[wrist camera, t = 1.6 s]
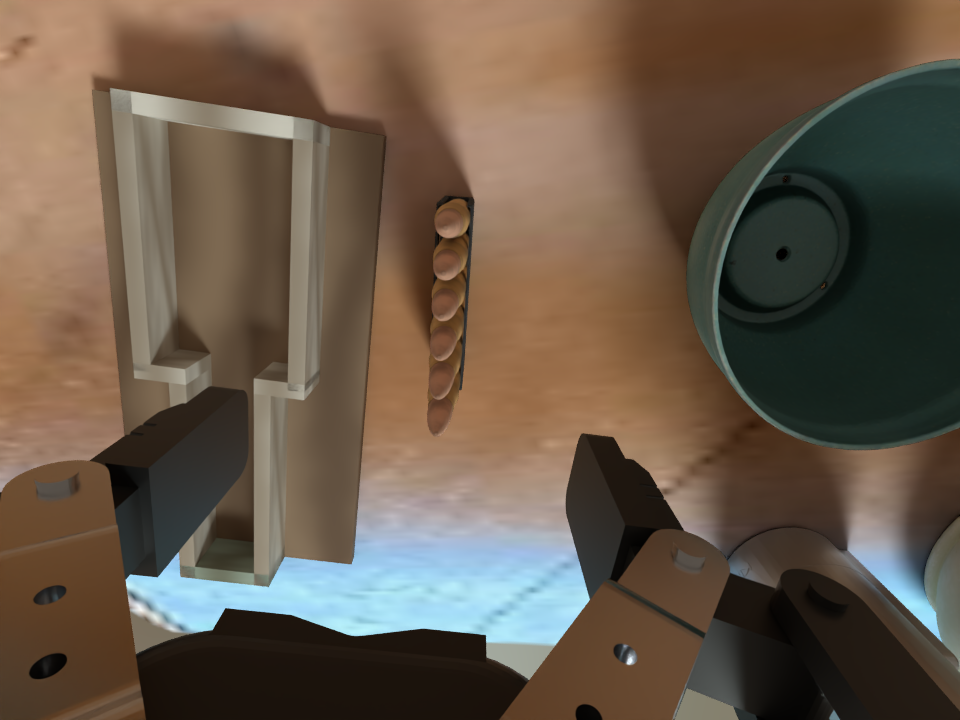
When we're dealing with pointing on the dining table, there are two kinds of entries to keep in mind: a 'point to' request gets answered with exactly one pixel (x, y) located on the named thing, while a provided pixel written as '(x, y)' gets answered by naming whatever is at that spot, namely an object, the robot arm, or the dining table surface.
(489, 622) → the dining table surface
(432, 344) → the ammunition clip
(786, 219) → the flower pot
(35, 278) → the dining table surface
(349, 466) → the shallow open tray
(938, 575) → the kettle
